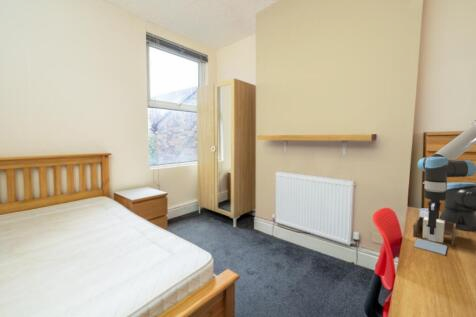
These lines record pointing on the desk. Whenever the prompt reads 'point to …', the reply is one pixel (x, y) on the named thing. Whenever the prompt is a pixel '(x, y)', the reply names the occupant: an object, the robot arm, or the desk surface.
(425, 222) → the cream block
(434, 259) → the desk surface
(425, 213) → the medicine box
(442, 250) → the felt pad
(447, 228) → the crate
